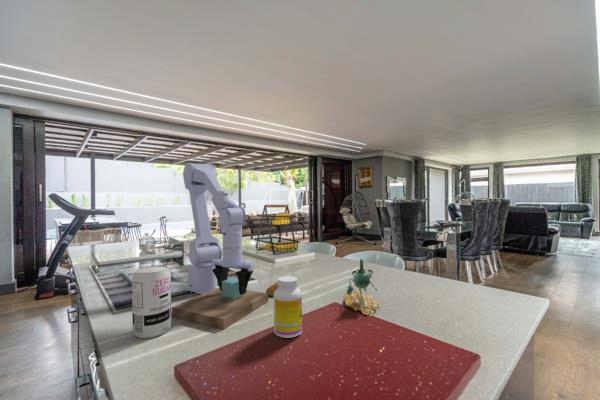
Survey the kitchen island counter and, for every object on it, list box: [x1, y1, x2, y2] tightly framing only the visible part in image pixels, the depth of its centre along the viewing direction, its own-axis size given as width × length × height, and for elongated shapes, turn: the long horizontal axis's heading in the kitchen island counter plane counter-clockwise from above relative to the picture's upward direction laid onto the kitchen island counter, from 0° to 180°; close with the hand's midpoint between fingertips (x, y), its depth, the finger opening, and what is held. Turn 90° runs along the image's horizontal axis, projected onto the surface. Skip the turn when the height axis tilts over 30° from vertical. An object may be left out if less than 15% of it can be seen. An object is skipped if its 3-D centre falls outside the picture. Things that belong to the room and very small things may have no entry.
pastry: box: [265, 281, 279, 297], centre depth 95 cm, size 9×7×4 cm
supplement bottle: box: [273, 275, 303, 339], centre depth 67 cm, size 7×7×13 cm
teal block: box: [222, 277, 241, 299], centre depth 86 cm, size 4×4×7 cm
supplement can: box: [131, 265, 172, 339], centre depth 68 cm, size 8×8×15 cm
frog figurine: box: [343, 258, 380, 317], centre depth 84 cm, size 10×18×15 cm, turn 2°
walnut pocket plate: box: [171, 287, 269, 330], centre depth 82 cm, size 18×20×2 cm
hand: (233, 292), depth 86 cm, fingers open, 7 cm apart
